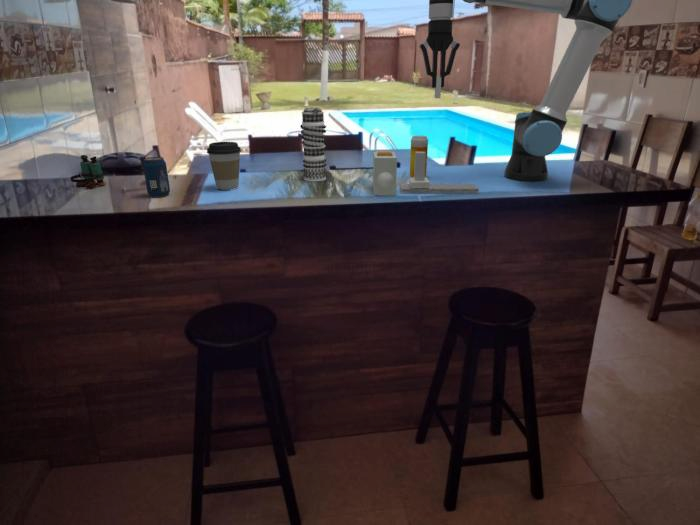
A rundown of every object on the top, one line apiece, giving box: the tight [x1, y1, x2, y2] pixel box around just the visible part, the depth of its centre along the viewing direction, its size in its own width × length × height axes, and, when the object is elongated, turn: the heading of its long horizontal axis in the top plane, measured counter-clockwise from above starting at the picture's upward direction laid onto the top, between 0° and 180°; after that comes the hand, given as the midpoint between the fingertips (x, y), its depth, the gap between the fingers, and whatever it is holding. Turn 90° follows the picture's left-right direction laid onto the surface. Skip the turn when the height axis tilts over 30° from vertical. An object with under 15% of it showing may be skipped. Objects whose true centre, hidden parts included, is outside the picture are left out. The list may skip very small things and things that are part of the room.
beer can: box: [409, 135, 429, 178], centre depth 181 cm, size 6×6×15 cm
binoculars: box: [70, 154, 106, 190], centre depth 172 cm, size 9×11×10 cm
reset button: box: [377, 149, 392, 156], centre depth 162 cm, size 4×4×5 cm
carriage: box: [408, 152, 431, 188], centre depth 163 cm, size 6×7×11 cm
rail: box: [399, 183, 479, 194], centre depth 165 cm, size 25×7×2 cm, turn 89°
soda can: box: [142, 156, 171, 198], centre depth 160 cm, size 7×7×12 cm
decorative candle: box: [299, 107, 327, 182], centre depth 179 cm, size 9×9×25 cm
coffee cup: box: [206, 141, 242, 191], centre depth 168 cm, size 11×11×15 cm
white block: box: [372, 151, 398, 196], centre depth 163 cm, size 7×12×12 cm, turn 179°
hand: (437, 98), depth 166 cm, fingers closed
